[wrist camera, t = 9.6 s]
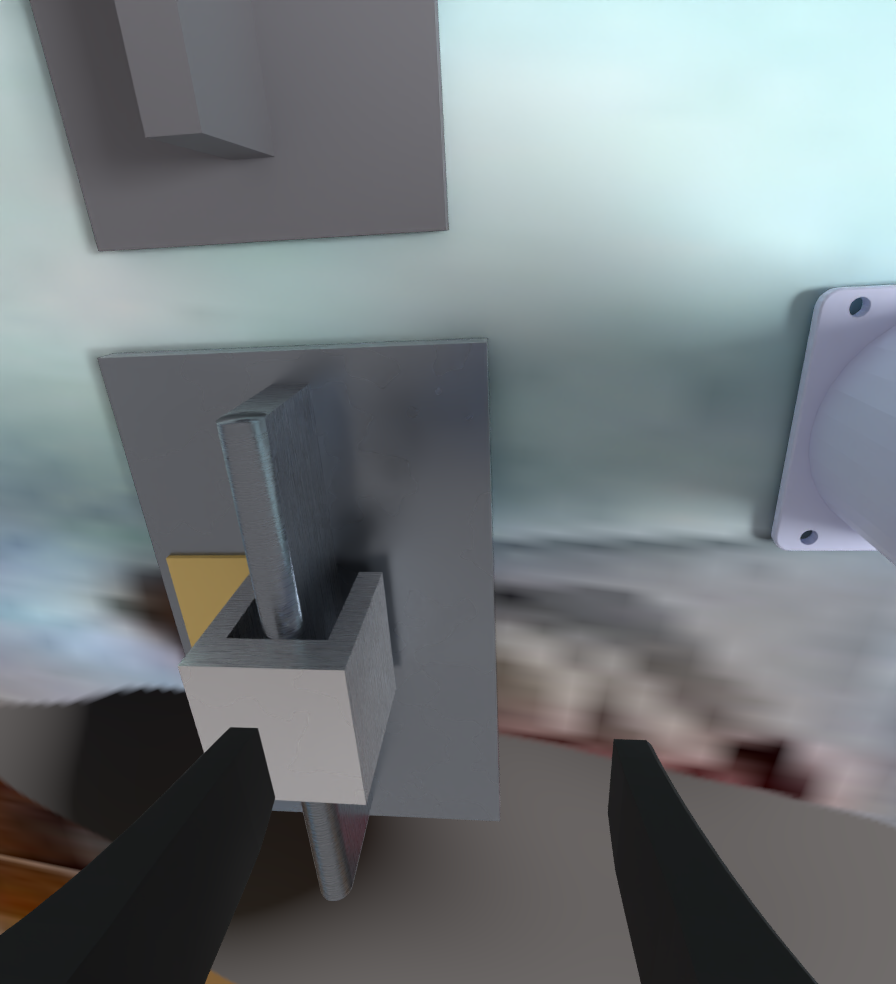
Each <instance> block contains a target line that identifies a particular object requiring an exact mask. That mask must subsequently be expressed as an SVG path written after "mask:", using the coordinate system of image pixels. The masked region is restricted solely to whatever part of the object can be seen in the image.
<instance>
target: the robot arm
mask: <svg viewBox="0 0 896 984" xmlns="http://www.w3.org/2000/svg"><path fill="white" fill-rule="evenodd" d="M859 297H860V298H861V299H862V303H863V305H862V307H861V309H860V311H858V312H857V313H856V314H854V315H851V314H850V310H849V307H850V305H851V303H852V302H853V301H854V300H855V299H856V298H859ZM809 530H812V533H811V535H810V536H809V537H807V538H804V539H800V537H801V535H802V534H803V533H804V532H806V531H809ZM771 536H772V539H773V541H774V542H775V544H776V545H777V546H778V547H779V548H781V549H783V550H788V551H858V550H878V551H879V552H880V553H881V554H883V555H884V556H885V557H886V558H887V559H888V560H890V561H891V562H892V563H893V564H894V565H895V566H896V284H895V285H874V286H853V287H836V288H832V289H829V290H827V291H826V292H824V293H823V294H822V295H821V296H820V297H819V298H818V300H817V302H816V304H815V307H814V311H813V316H812V322H811V327H810V332H809V337H808V343H807V348H806V353H805V358H804V364H803V369H802V374H801V379H800V385H799V390H798V395H797V400H796V406H795V411H794V416H793V421H792V427H791V432H790V437H789V442H788V448H787V453H786V458H785V463H784V469H783V474H782V479H781V485H780V490H779V495H778V500H777V506H776V511H775V516H774V521H773V527H772V532H771ZM274 801H275V794H274V790H273V786H272V782H271V778H270V774H269V770H268V766H267V762H266V758H265V754H264V750H263V746H262V742H261V738H260V734H259V730H258V728H242V727H230V728H229V729H228V730H227V731H226V732H225V733H224V734H223V735H222V736H221V737H220V738H219V739H218V740H217V741H216V742H215V743H214V744H213V745H212V746H211V747H210V748H209V749H208V750H207V751H206V752H205V753H204V754H203V755H202V756H201V757H200V758H199V759H198V760H197V761H196V762H195V763H194V764H193V765H192V766H191V767H190V768H189V769H188V770H187V771H186V772H185V773H184V774H183V775H182V776H181V777H180V778H179V779H178V780H177V781H176V782H175V783H174V784H173V785H172V786H171V787H170V788H169V789H168V790H167V791H166V792H165V793H164V794H163V795H162V796H161V797H160V798H159V799H158V800H157V801H156V802H155V803H154V804H153V805H152V806H151V807H150V808H149V809H148V810H147V811H146V812H145V813H144V814H143V815H142V816H141V817H139V818H138V819H137V820H136V821H135V822H134V823H133V824H132V825H131V826H130V827H129V828H128V829H127V830H126V831H125V832H123V833H122V834H121V835H120V836H119V837H118V838H117V839H116V840H115V841H114V842H113V843H111V844H110V845H109V846H108V847H107V848H106V849H105V850H104V851H103V852H102V853H100V854H99V855H98V856H97V857H96V858H95V859H94V860H93V861H92V862H91V863H89V864H88V865H87V866H86V867H85V868H84V869H83V870H81V871H80V872H79V873H78V874H77V875H76V876H74V877H73V878H72V879H71V880H70V881H69V882H67V883H66V884H65V885H64V886H63V887H61V888H60V889H59V890H58V891H56V892H55V893H54V894H53V895H51V896H50V897H49V898H48V899H46V900H45V901H44V902H43V903H42V904H40V905H39V906H38V907H37V908H35V909H34V910H33V911H32V912H30V913H29V914H28V915H26V916H25V917H24V918H23V919H21V920H20V921H19V922H17V923H16V924H15V925H13V926H12V927H11V928H9V929H8V930H6V931H5V932H4V933H2V934H1V935H0V984H205V982H206V979H207V976H208V974H209V972H210V969H211V967H212V965H213V962H214V960H215V957H216V955H217V953H218V950H219V948H220V946H221V943H222V941H223V938H224V936H225V934H226V931H227V929H228V926H229V924H230V922H231V919H232V917H233V915H234V912H235V910H236V907H237V905H238V903H239V900H240V898H241V895H242V893H243V891H244V888H245V886H246V883H247V881H248V878H249V876H250V874H251V871H252V869H253V866H254V864H255V862H256V859H257V856H258V854H259V851H260V848H261V845H262V842H263V839H264V836H265V832H266V829H267V826H268V822H269V818H270V815H271V811H272V808H273V804H274ZM608 817H609V826H610V833H611V842H612V849H613V857H614V864H615V870H616V875H617V880H618V885H619V889H620V893H621V898H622V902H623V906H624V911H625V916H626V920H627V924H628V928H629V933H630V937H631V942H632V946H633V950H634V954H635V959H636V963H637V968H638V972H639V976H640V981H641V984H818V983H817V982H816V981H815V980H814V978H813V977H812V976H811V975H810V974H809V973H808V971H807V970H806V969H805V968H804V967H803V965H802V964H801V963H800V962H799V961H798V960H797V958H796V957H795V956H794V955H793V953H792V952H791V951H790V950H789V948H788V947H787V946H786V945H785V944H784V942H783V941H782V940H781V939H780V937H779V936H778V935H777V934H776V933H775V931H774V930H773V929H772V927H771V926H770V925H769V923H768V922H767V921H766V920H765V918H764V917H763V916H762V914H761V913H760V912H759V910H758V909H757V908H756V907H755V905H754V904H753V903H752V901H751V900H750V898H749V897H748V896H747V894H746V893H745V892H744V890H743V889H742V888H741V886H740V885H739V884H738V882H737V881H736V879H735V878H734V877H733V875H732V874H731V872H730V871H729V870H728V868H727V867H726V865H725V864H724V863H723V861H722V860H721V858H720V857H719V855H718V854H717V852H716V851H715V849H714V848H713V846H712V845H711V843H710V842H709V840H708V839H707V838H706V836H705V834H704V833H703V831H702V830H701V828H700V827H699V826H698V824H697V822H696V821H695V819H694V818H693V816H692V815H691V813H690V811H689V810H688V808H687V807H686V805H685V804H684V802H683V800H682V799H681V797H680V795H679V794H678V792H677V790H676V789H675V787H674V785H673V784H672V782H671V780H670V779H669V777H668V775H667V773H666V771H665V770H664V768H663V766H662V764H661V762H660V761H659V759H658V757H657V755H656V753H655V751H654V749H653V747H652V745H651V744H650V743H649V742H647V741H646V740H622V739H614V742H613V754H612V768H611V779H610V792H609V804H608Z"/></svg>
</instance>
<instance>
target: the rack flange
mask: <svg viewBox="0 0 896 984" xmlns="http://www.w3.org/2000/svg"><path fill="white" fill-rule="evenodd" d="M97 359H98V362H99V366H100V369H101V372H102V376H103V379H104V383H105V386H106V389H107V393H108V396H109V399H110V403H111V406H112V410H113V413H114V416H115V420H116V423H117V427H118V430H119V433H120V437H121V440H122V443H123V447H124V450H125V454H126V457H127V460H128V464H129V467H130V470H131V474H132V477H133V481H134V484H135V487H136V491H137V494H138V497H139V501H140V504H141V508H142V511H143V514H144V518H145V521H146V525H147V528H148V531H149V535H150V538H151V541H152V545H153V548H154V552H155V555H156V558H157V562H158V565H159V568H160V572H161V575H162V579H163V582H164V585H165V589H166V592H167V596H168V599H169V602H170V606H171V609H172V612H173V616H174V619H175V623H176V626H177V629H178V633H179V636H180V639H181V643H182V646H183V650H184V653H185V656H186V655H187V653H188V652H189V651H190V650H191V648H192V647H193V646H194V644H195V643H196V642H197V641H198V639H199V638H200V637H201V635H202V634H203V633H204V631H205V630H206V629H207V628H208V626H209V625H210V624H211V622H212V621H213V620H214V619H215V617H216V616H217V615H218V613H219V612H220V611H221V609H222V608H223V607H224V606H225V604H226V603H227V602H228V600H229V599H230V598H231V597H232V595H233V594H234V593H235V591H236V590H237V589H238V587H239V586H240V585H241V584H242V582H243V581H244V580H245V578H246V577H247V576H248V575H249V573H250V577H251V582H252V586H253V590H254V595H255V599H256V604H257V608H258V613H259V617H260V622H261V626H262V631H263V635H264V639H276V640H277V639H286V640H328V639H329V637H330V635H331V632H332V630H333V628H334V626H335V624H336V621H337V619H338V617H339V615H340V613H341V610H342V608H343V606H344V604H345V602H346V599H347V597H348V595H349V593H350V591H351V588H352V586H353V584H354V582H355V580H356V577H357V575H358V573H359V572H382V573H383V582H384V590H385V599H386V607H387V615H388V624H389V632H390V641H391V649H392V658H393V666H394V675H395V683H396V691H395V695H394V699H393V703H392V706H391V710H390V714H389V718H388V722H387V726H386V730H385V734H384V737H383V741H382V745H381V749H380V753H379V757H378V761H377V765H376V769H375V772H374V776H373V780H372V784H371V788H370V792H369V796H368V800H367V803H366V805H358V804H340V803H321V802H303V801H285V800H275V801H274V804H273V808H272V810H273V811H296V812H303V813H304V818H305V822H306V827H307V831H308V835H309V840H310V844H311V849H312V853H313V858H314V862H315V866H316V871H317V875H318V880H319V884H320V889H321V893H322V895H323V896H324V897H325V898H326V899H327V900H330V901H336V900H340V899H342V898H344V897H345V896H346V895H347V894H348V893H349V892H350V890H351V888H352V885H353V881H354V877H355V873H356V869H357V864H358V860H359V856H360V852H361V847H362V843H363V839H364V834H365V831H366V826H367V822H368V817H369V815H379V816H381V815H382V816H400V817H401V816H402V817H422V818H443V819H464V820H486V821H500V778H499V743H498V704H497V668H496V631H495V594H494V557H493V520H492V484H491V447H490V410H489V373H488V338H472V339H447V340H423V341H399V342H375V343H350V344H326V345H302V346H278V347H253V348H229V349H205V350H180V351H156V352H132V353H112V354H109V355H106V356H103V357H99V358H97Z"/></svg>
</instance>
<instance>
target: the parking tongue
mask: <svg viewBox="0 0 896 984" xmlns="http://www.w3.org/2000/svg"><path fill="white" fill-rule="evenodd" d="M30 4H31V7H32V11H33V15H34V18H35V22H36V25H37V29H38V33H39V36H40V40H41V44H42V47H43V51H44V55H45V58H46V62H47V65H48V69H49V73H50V76H51V80H52V84H53V87H54V91H55V95H56V98H57V102H58V106H59V109H60V113H61V116H62V120H63V124H64V127H65V131H66V135H67V138H68V142H69V146H70V149H71V153H72V156H73V160H74V164H75V167H76V171H77V175H78V178H79V182H80V186H81V189H82V193H83V196H84V200H85V204H86V207H87V211H88V215H89V218H90V222H91V226H92V229H93V233H94V237H95V240H96V244H97V247H98V251H115V250H132V249H148V248H164V247H181V246H197V245H213V244H230V243H246V242H262V241H278V240H295V239H311V238H327V237H344V236H360V235H376V234H393V233H409V232H425V231H442V230H449V224H448V203H447V183H446V163H445V143H444V123H443V103H442V83H441V63H440V43H439V23H438V3H437V0H30Z"/></svg>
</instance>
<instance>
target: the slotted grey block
mask: <svg viewBox="0 0 896 984" xmlns="http://www.w3.org/2000/svg"><path fill="white" fill-rule="evenodd" d="M178 668H179V672H180V675H181V678H182V681H183V685H184V688H185V691H186V694H187V698H188V701H189V704H190V707H191V711H192V714H193V717H194V721H195V724H196V727H197V730H198V733H199V737H200V740H201V743H202V747H203V750H204V753H205V752H206V751H207V750H208V749H209V748H210V747H211V746H212V745H213V744H214V743H215V742H216V741H217V740H218V739H219V738H220V737H221V736H222V735H223V734H224V733H225V732H226V731H227V730H228V729H229V728H230V727H242V728H258V730H259V734H260V738H261V742H262V746H263V750H264V754H265V758H266V762H267V766H268V770H269V774H270V778H271V782H272V786H273V790H274V794H275V800H285V801H303V802H321V803H340V804H358V805H366V803H367V800H368V796H369V792H370V788H371V784H372V780H373V776H374V772H375V769H376V765H377V761H378V757H379V753H380V749H381V745H382V741H383V737H384V734H385V730H386V726H387V722H388V718H389V714H390V710H391V706H392V703H393V699H394V695H395V691H396V683H395V675H394V666H393V658H392V649H391V641H390V632H389V624H388V615H387V607H386V599H385V590H384V582H383V573H382V572H359V573H358V575H357V577H356V580H355V582H354V584H353V586H352V588H351V591H350V593H349V595H348V597H347V599H346V602H345V604H344V606H343V608H342V610H341V613H340V615H339V617H338V619H337V621H336V624H335V626H334V628H333V630H332V632H331V635H330V637H329V639H328V640H286V639H277V640H276V639H264V635H263V631H262V626H261V622H260V617H259V613H258V608H257V604H256V599H255V595H254V590H253V586H252V582H251V577H250V573H249V575H248V576H247V577H246V578H245V580H244V581H243V582H242V584H241V585H240V586H239V587H238V589H237V590H236V591H235V593H234V594H233V595H232V597H231V598H230V599H229V600H228V602H227V603H226V604H225V606H224V607H223V608H222V609H221V611H220V612H219V613H218V615H217V616H216V617H215V619H214V620H213V621H212V622H211V624H210V625H209V626H208V628H207V629H206V630H205V631H204V633H203V634H202V635H201V637H200V638H199V639H198V641H197V642H196V643H195V644H194V646H193V647H192V648H191V650H190V651H189V652H188V653H187V655H186V656H185V657H184V659H183V660H182V661H181V663H180V664H179V665H178Z"/></svg>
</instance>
